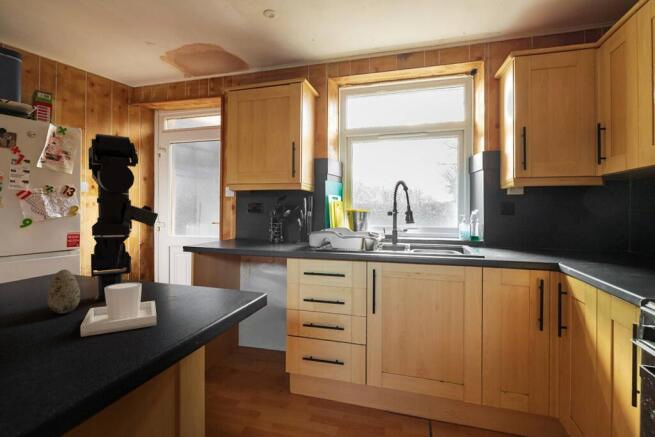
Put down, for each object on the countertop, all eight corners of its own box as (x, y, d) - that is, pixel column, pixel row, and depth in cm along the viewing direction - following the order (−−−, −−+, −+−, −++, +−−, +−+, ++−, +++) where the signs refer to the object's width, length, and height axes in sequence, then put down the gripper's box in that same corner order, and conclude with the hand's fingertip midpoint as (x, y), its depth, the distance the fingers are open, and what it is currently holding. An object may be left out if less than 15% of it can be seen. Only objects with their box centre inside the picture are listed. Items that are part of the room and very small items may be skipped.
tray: (90, 317, 73) (90, 308, 73) (154, 309, 79) (154, 300, 79) (80, 336, 62) (80, 326, 62) (156, 325, 68) (156, 315, 68)
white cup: (97, 320, 70) (96, 287, 69) (129, 311, 76) (129, 280, 75) (117, 325, 66) (116, 290, 66) (149, 315, 73) (149, 283, 72)
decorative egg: (77, 307, 81) (76, 266, 80) (83, 312, 77) (82, 269, 77) (45, 313, 76) (44, 269, 76) (50, 319, 72) (49, 273, 72)
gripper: (157, 193, 68) (158, 269, 69) (154, 195, 84) (155, 256, 85) (90, 192, 63) (92, 274, 63) (101, 194, 79) (102, 259, 80)
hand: (115, 265), depth 73 cm, fingers open, 9 cm apart
